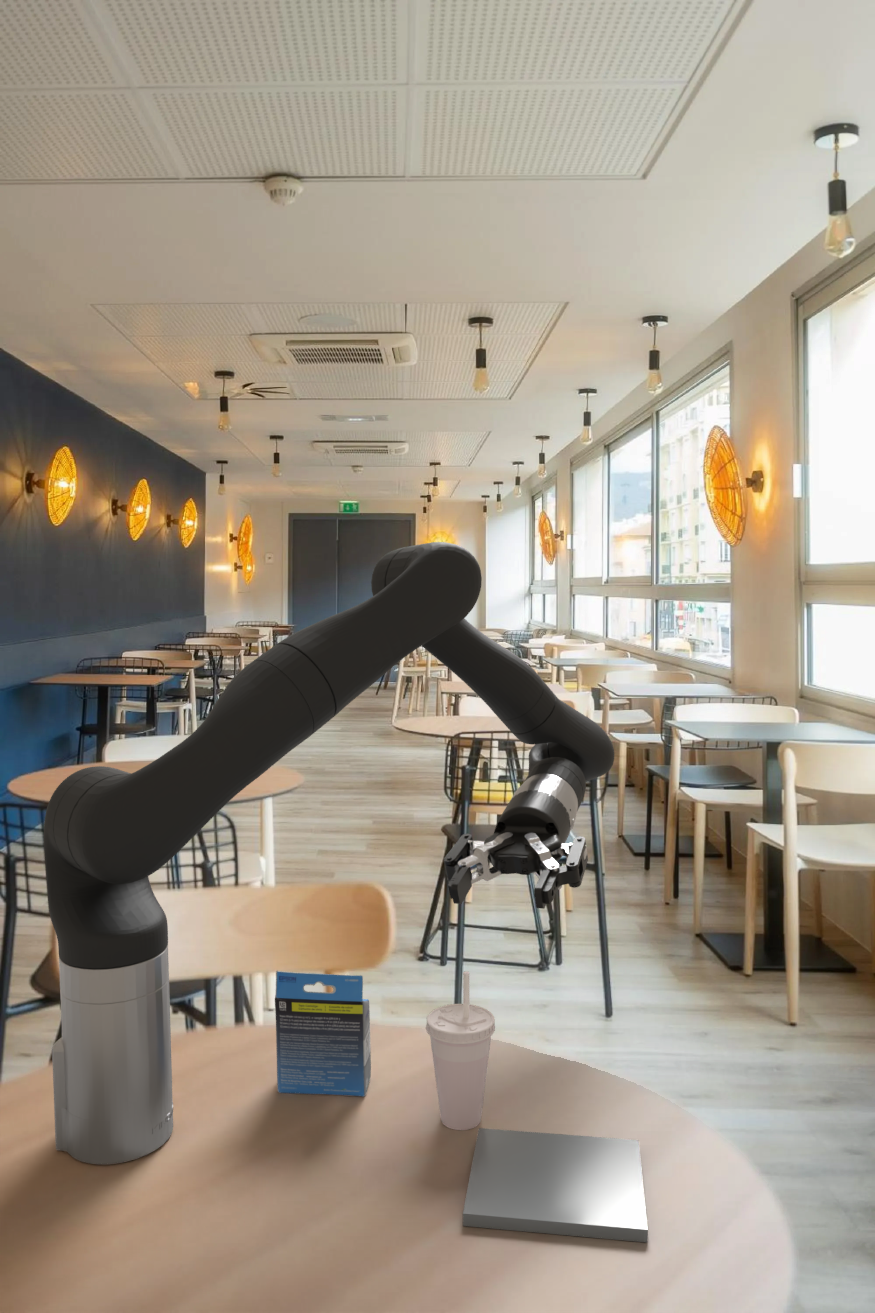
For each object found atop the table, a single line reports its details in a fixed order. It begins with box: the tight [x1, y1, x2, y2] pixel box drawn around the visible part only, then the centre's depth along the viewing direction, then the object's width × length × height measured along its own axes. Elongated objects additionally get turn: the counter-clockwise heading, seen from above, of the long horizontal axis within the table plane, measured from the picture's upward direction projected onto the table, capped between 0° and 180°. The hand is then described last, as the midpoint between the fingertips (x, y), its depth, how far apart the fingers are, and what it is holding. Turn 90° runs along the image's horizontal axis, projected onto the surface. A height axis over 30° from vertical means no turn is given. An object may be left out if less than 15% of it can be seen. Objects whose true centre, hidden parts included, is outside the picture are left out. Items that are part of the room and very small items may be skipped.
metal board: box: [462, 1127, 649, 1243], centre depth 81 cm, size 14×12×1 cm
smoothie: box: [425, 971, 496, 1131], centre depth 91 cm, size 6×6×14 cm
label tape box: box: [274, 970, 372, 1097], centre depth 97 cm, size 9×4×12 cm, turn 84°
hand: (496, 898), depth 96 cm, fingers open, 8 cm apart
